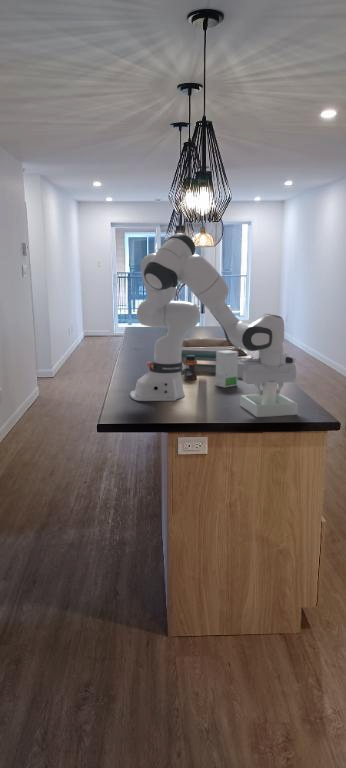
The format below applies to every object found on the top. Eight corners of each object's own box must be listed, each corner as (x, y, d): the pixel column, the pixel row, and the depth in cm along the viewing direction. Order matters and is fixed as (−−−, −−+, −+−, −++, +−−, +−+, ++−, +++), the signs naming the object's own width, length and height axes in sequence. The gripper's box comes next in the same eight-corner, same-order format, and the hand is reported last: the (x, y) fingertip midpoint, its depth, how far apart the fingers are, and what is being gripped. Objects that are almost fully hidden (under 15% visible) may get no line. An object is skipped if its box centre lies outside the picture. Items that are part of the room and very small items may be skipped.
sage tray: (256, 417, 191) (257, 406, 190) (240, 405, 206) (240, 395, 205) (297, 414, 195) (297, 403, 194) (278, 403, 210) (278, 393, 209)
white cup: (264, 406, 196) (265, 382, 194) (258, 402, 202) (259, 378, 200) (278, 405, 198) (279, 381, 196) (271, 401, 203) (273, 378, 201)
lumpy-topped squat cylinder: (263, 379, 252) (264, 361, 250) (236, 379, 252) (237, 361, 250) (259, 374, 262) (260, 357, 260) (233, 374, 262) (234, 357, 260)
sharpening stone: (178, 371, 268) (178, 349, 265) (180, 368, 275) (181, 347, 273) (227, 373, 264) (228, 351, 261) (229, 370, 271) (229, 349, 269)
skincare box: (224, 388, 233) (225, 353, 230) (214, 385, 238) (215, 351, 235) (237, 385, 239) (239, 351, 235) (227, 382, 244) (228, 349, 240)
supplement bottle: (196, 377, 254) (196, 354, 251) (197, 380, 248) (197, 356, 245) (183, 377, 253) (184, 354, 251) (184, 380, 248) (184, 356, 245)
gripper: (247, 360, 190) (245, 397, 193) (299, 358, 195) (297, 395, 198) (241, 357, 196) (239, 393, 199) (291, 355, 201) (289, 391, 204)
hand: (268, 394), depth 199 cm, fingers closed on white cup, 6 cm apart
